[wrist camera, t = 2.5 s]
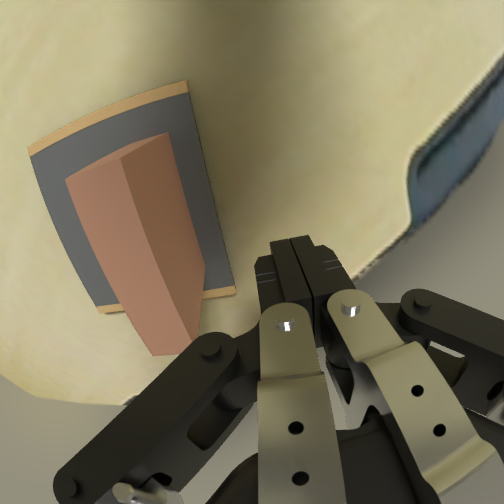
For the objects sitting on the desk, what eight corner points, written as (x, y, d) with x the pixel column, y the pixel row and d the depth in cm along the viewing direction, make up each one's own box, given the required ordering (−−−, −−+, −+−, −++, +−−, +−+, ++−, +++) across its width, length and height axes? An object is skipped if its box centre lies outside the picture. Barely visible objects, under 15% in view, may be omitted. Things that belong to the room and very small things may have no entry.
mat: (31, 145, 14) (27, 147, 14) (186, 80, 14) (185, 80, 13) (102, 308, 23) (99, 313, 22) (235, 288, 22) (236, 293, 22)
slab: (130, 143, 15) (64, 179, 8) (168, 132, 15) (120, 158, 8) (173, 272, 20) (152, 356, 13) (205, 266, 20) (197, 352, 13)
